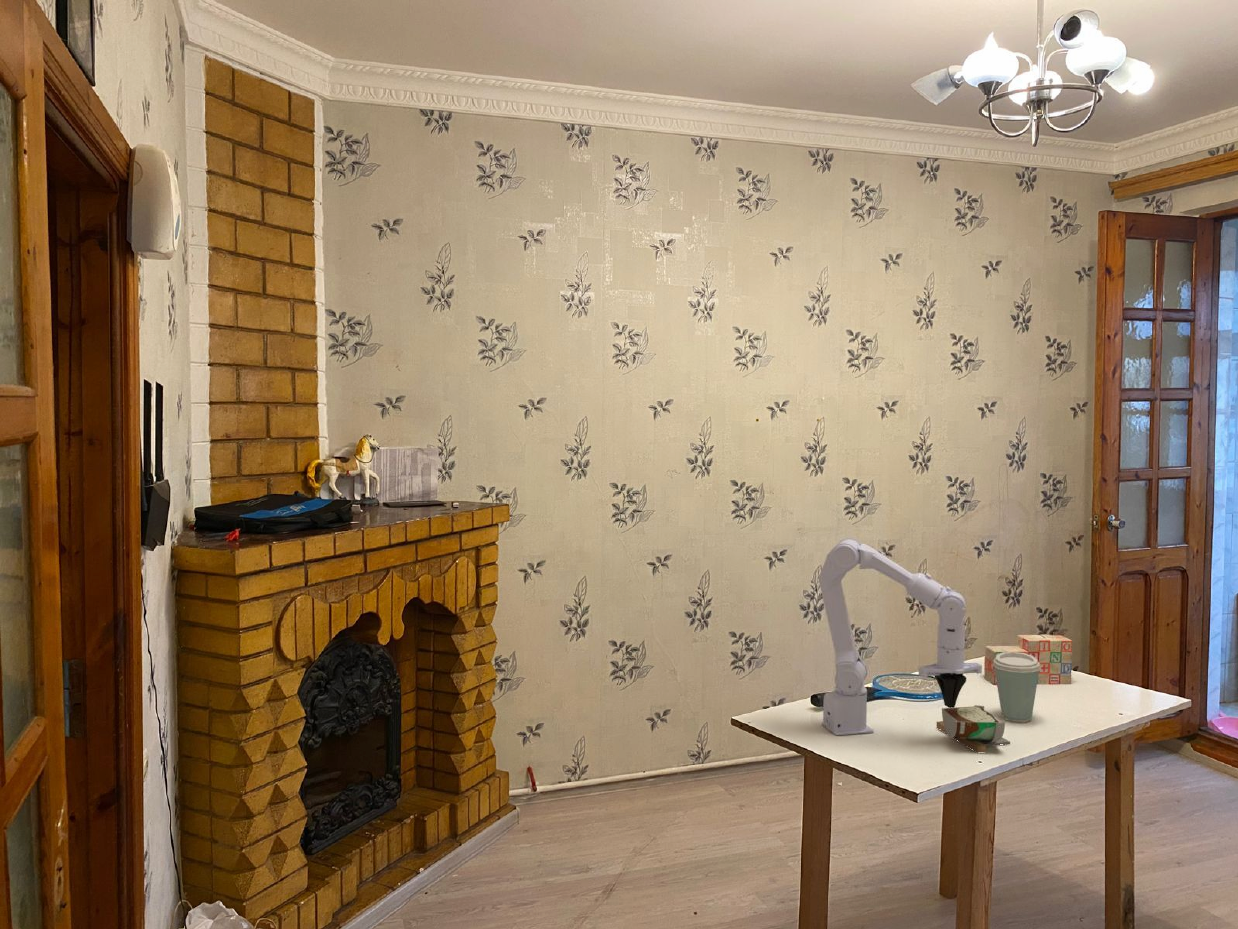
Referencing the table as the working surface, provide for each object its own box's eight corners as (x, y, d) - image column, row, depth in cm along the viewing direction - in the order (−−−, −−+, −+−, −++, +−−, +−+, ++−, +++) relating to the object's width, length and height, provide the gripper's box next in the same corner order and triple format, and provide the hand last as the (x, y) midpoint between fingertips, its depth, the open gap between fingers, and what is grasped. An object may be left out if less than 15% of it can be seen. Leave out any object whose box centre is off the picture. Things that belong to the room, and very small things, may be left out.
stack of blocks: (993, 685, 246) (994, 640, 245) (983, 678, 252) (984, 635, 252) (1071, 684, 247) (1073, 640, 246) (1059, 678, 253) (1061, 634, 252)
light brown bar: (977, 753, 198) (977, 746, 198) (936, 728, 213) (936, 721, 213) (985, 752, 198) (985, 745, 198) (944, 727, 214) (944, 721, 214)
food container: (959, 752, 197) (1006, 751, 197) (959, 724, 197) (1006, 723, 197) (939, 732, 209) (983, 731, 209) (939, 706, 209) (983, 705, 209)
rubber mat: (978, 747, 201) (978, 744, 201) (947, 728, 213) (947, 726, 213) (1010, 744, 203) (1010, 742, 203) (978, 726, 214) (978, 723, 214)
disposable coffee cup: (1044, 727, 213) (1046, 664, 213) (995, 724, 216) (996, 661, 215) (1034, 712, 224) (1035, 652, 223) (987, 709, 226) (989, 650, 225)
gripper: (931, 653, 198) (929, 714, 199) (990, 649, 201) (989, 709, 202) (914, 644, 205) (912, 704, 206) (971, 641, 208) (970, 699, 209)
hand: (949, 706), depth 205 cm, fingers closed
